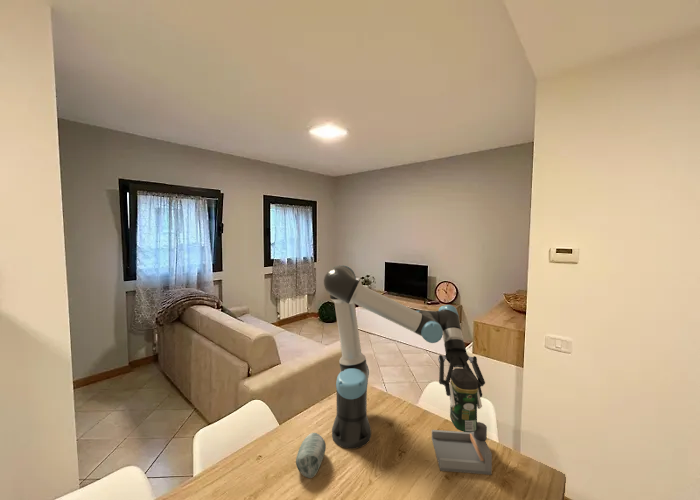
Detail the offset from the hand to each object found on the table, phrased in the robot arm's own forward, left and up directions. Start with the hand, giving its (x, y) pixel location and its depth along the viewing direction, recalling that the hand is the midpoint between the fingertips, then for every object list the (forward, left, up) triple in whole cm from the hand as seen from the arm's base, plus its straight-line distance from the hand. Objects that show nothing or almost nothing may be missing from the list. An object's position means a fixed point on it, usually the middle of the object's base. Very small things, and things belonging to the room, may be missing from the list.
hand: (466, 406), depth 94 cm
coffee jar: (0, +4, -9) cm, 9 cm away
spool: (-52, -6, -20) cm, 56 cm away
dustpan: (-1, +3, -19) cm, 20 cm away
